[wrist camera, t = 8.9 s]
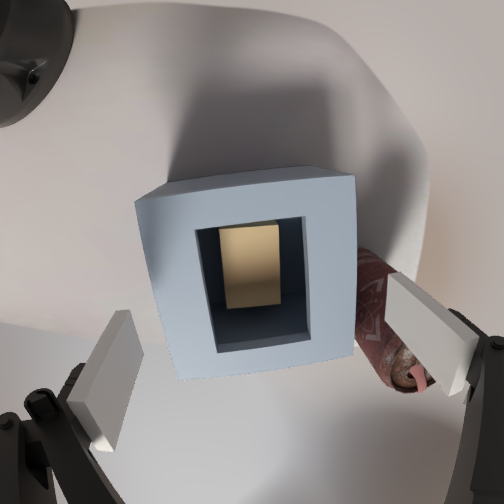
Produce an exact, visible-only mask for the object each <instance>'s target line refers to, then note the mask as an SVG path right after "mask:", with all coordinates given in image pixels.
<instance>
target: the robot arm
mask: <svg viewBox="0 0 504 504" xmlns="http://www.w3.org/2000/svg"><path fill="white" fill-rule="evenodd" d="M72 39H73V17H72V13H71V10H70V8H69V6H68V4H67V3H66V2H65V1H64V0H0V128H2V127H6V126H9V125H12V124H14V123H16V122H18V121H20V120H21V119H23V118H24V117H26V116H27V115H28V114H29V113H30V112H32V111H33V110H34V109H35V108H36V107H37V106H38V105H39V104H40V103H41V102H42V100H43V99H44V98H45V97H46V95H47V94H48V93H49V91H50V90H51V89H52V87H53V86H54V84H55V82H56V81H57V79H58V77H59V75H60V73H61V72H62V69H63V67H64V65H65V63H66V60H67V57H68V55H69V51H70V48H71V44H72ZM385 321H386V322H387V323H388V325H389V326H390V327H391V328H392V329H393V330H394V332H395V333H396V334H397V335H398V336H399V337H400V339H401V340H402V341H403V342H404V343H405V344H406V346H407V347H408V348H409V349H410V350H411V352H412V353H413V354H414V355H415V356H416V358H417V359H418V360H419V361H420V362H421V364H422V365H423V366H424V367H425V369H426V370H427V371H428V372H429V373H430V375H431V376H432V377H433V378H434V380H435V381H436V382H437V383H438V384H439V386H440V387H441V388H442V390H443V391H444V392H445V393H446V395H447V396H451V395H453V394H455V393H457V392H460V391H462V389H463V385H464V383H465V380H467V381H468V382H469V384H470V387H469V390H468V393H467V395H466V398H465V400H464V402H463V404H466V401H467V404H466V411H465V417H464V424H463V429H462V435H461V440H460V445H459V450H458V454H457V459H456V463H455V467H454V471H453V475H452V479H451V483H450V486H449V490H448V493H447V497H446V499H445V503H444V504H504V337H500V336H490V337H488V336H487V335H486V334H485V333H484V332H483V331H481V330H480V329H479V328H478V327H477V326H475V325H474V324H473V323H471V321H469V320H468V319H466V317H464V316H463V315H462V314H461V313H459V312H458V311H455V310H453V309H446V308H445V307H444V306H443V305H442V304H440V303H439V302H438V301H437V300H435V299H434V298H433V297H432V296H431V295H429V294H428V293H427V292H426V291H424V290H423V289H422V288H420V287H419V286H418V285H417V284H415V283H414V282H413V281H412V280H410V279H409V278H408V277H407V276H405V275H404V274H403V273H401V272H397V273H391V274H388V284H387V298H386V310H385ZM143 356H144V353H143V350H142V347H141V344H140V341H139V338H138V335H137V332H136V329H135V326H134V322H133V319H132V316H131V312H130V310H120V311H116V312H115V313H114V315H113V317H112V318H111V320H110V322H109V323H108V325H107V327H106V329H105V330H104V332H103V334H102V335H101V337H100V339H99V341H98V343H97V344H96V346H95V348H94V350H93V351H92V353H91V355H90V357H89V359H88V361H87V362H86V363H80V364H79V365H77V366H76V367H75V368H74V369H73V370H72V371H71V373H70V376H69V377H68V379H67V380H66V382H65V386H63V388H62V390H61V391H60V394H59V395H58V397H57V398H56V397H55V395H54V393H53V392H52V391H51V390H50V389H47V388H41V389H37V390H35V391H33V392H32V393H30V394H29V395H28V396H27V397H26V399H25V401H24V407H25V409H26V410H27V412H28V413H29V415H30V416H31V418H32V419H31V420H25V421H21V420H20V418H19V417H18V415H17V414H16V413H13V412H6V413H4V414H2V415H0V504H57V500H56V494H55V488H54V482H53V474H52V470H53V472H54V474H55V477H56V479H57V481H58V483H59V485H60V488H61V489H62V492H63V494H64V496H65V498H66V500H67V502H68V504H125V503H124V501H123V500H122V498H121V497H120V496H119V494H118V493H117V491H116V490H115V489H114V487H113V486H112V484H111V483H110V481H109V480H108V478H107V477H106V475H105V474H104V472H103V471H102V469H101V467H100V466H99V464H98V463H97V461H96V459H95V458H94V456H93V454H92V453H91V451H90V450H89V446H90V443H91V442H92V443H93V445H94V446H95V448H96V449H97V450H100V451H112V452H114V451H115V448H116V444H117V441H118V437H119V433H120V430H121V427H122V423H123V420H124V416H125V413H126V410H127V406H128V403H129V400H130V397H131V393H132V390H133V387H134V384H135V380H136V377H137V374H138V371H139V368H140V365H141V362H142V359H143Z"/></svg>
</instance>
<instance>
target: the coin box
mask: <svg viewBox="0 0 504 504" xmlns="http://www.w3.org/2000/svg"><path fill="white" fill-rule="evenodd" d="M134 203H135V208H136V214H137V219H138V225H139V230H140V235H141V240H142V245H143V249H144V254H145V259H146V263H147V268H148V272H149V276H150V281H151V285H152V289H153V293H154V297H155V301H156V305H157V309H158V313H159V317H160V320H161V324H162V328H163V331H164V335H165V338H166V342H167V345H168V349H169V352H170V355H171V359H172V362H173V365H174V368H175V372H176V375H177V378H178V380H179V381H180V380H192V379H203V378H204V379H205V378H215V377H224V376H233V375H242V374H249V373H256V372H264V371H270V370H277V369H283V368H290V367H295V366H301V365H306V364H312V363H317V362H323V361H328V360H333V359H337V358H342V357H347V356H351V355H353V349H354V334H355V315H356V289H357V216H356V190H355V175H352V174H348V173H343V172H339V171H334V170H329V169H324V168H319V167H315V166H309V165H307V166H295V167H284V168H274V169H264V170H255V171H246V172H238V173H230V174H222V175H214V176H207V177H200V178H193V179H187V180H180V181H174V182H168V183H165V184H163V185H162V186H160V187H158V188H156V189H155V190H153V191H151V192H150V193H148V194H146V195H145V196H143V197H141V198H140V199H138V200H136V201H135V202H134ZM266 220H275V221H276V222H277V224H278V228H279V257H280V292H281V304H275V305H265V306H254V307H243V308H231V309H227V305H226V295H225V285H224V275H223V265H222V254H221V243H220V232H219V226H227V225H234V224H242V223H250V222H258V221H266Z"/></svg>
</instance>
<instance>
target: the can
mask: <svg viewBox="0 0 504 504" xmlns="http://www.w3.org/2000/svg"><path fill="white" fill-rule="evenodd" d="M391 273H397V271H396V270H395V269H393V268H392V267H391V266H390V265H388V264H387V263H386V262H384V261H383V260H382V259H380V258H379V257H378V256H376V255H375V254H374V253H372V252H371V251H369V250H367V249H363V248H357V289H356V315H355V334H354V338H355V340H356V341H357V343H358V344H359V346H360V347H361V349H362V350H363V352H364V353H365V355H366V356H367V358H368V360H369V361H370V363H371V364H372V366H373V368H374V369H375V371H376V372H377V374H378V375H379V377H380V379H381V380H382V381H383V382H384V383H385V384H386V386H388V387H391V388H394V389H395V390H396V391H398V392H401V393H415V392H418V393H421V392H423V391H424V390H425V389H426V388H427V387H429V386H431V385H432V384H434V383H435V382H436V381H435V380H434V378H433V377H432V376H431V375H430V373H429V372H428V371H427V370H426V369H425V367H424V366H423V365H422V364H421V362H420V361H419V360H418V359H417V358H416V356H415V355H414V354H413V353H412V352H411V350H410V349H409V348H408V347H407V346H406V344H405V343H404V342H403V341H402V340H401V339H400V337H399V336H398V335H397V334H396V333H395V332H394V330H393V329H392V328H391V327H390V326H389V325H388V323H387V322H386V321H385V310H386V298H387V284H388V274H391Z"/></svg>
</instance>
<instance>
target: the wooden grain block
mask: <svg viewBox="0 0 504 504" xmlns="http://www.w3.org/2000/svg"><path fill="white" fill-rule="evenodd" d="M219 232H220V243H221V254H222V265H223V275H224V285H225V295H226V305H227V309H231V308H243V307H254V306H265V305H275V304H281V292H280V257H279V228H278V224H277V222H276V221H275V220H266V221H258V222H250V223H242V224H234V225H227V226H219Z"/></svg>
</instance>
